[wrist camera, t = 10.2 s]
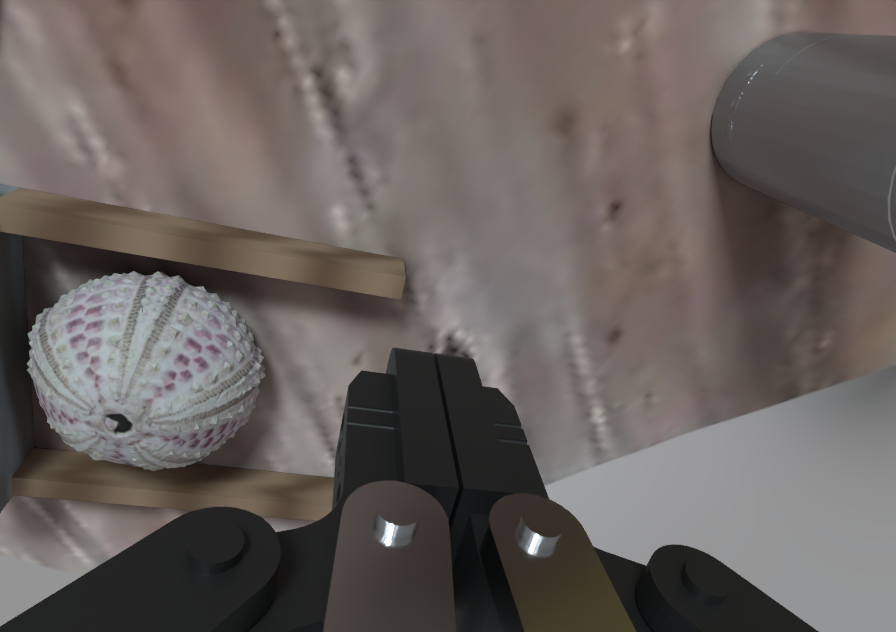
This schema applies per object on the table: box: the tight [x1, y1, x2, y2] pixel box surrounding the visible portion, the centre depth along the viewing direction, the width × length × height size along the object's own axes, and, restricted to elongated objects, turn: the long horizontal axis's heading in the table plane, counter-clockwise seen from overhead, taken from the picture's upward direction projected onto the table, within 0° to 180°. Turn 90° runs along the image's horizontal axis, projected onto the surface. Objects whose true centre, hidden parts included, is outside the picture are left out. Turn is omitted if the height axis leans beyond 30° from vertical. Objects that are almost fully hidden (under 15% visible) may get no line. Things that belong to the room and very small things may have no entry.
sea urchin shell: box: [27, 271, 266, 471], centre depth 36 cm, size 13×14×8 cm
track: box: [0, 184, 406, 521], centre depth 37 cm, size 25×20×6 cm
